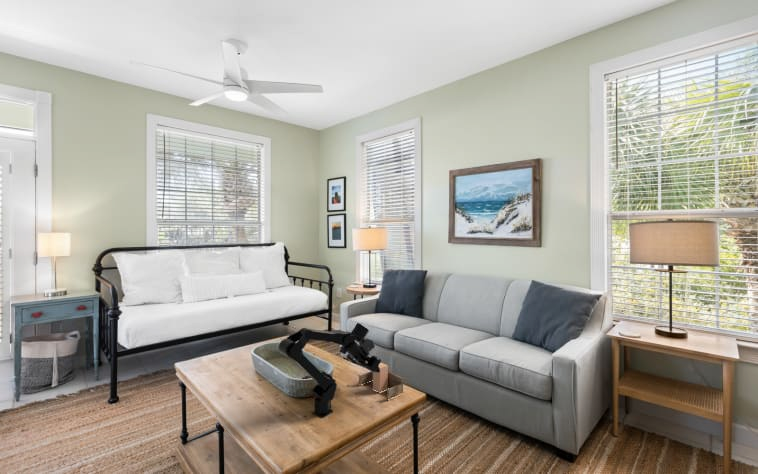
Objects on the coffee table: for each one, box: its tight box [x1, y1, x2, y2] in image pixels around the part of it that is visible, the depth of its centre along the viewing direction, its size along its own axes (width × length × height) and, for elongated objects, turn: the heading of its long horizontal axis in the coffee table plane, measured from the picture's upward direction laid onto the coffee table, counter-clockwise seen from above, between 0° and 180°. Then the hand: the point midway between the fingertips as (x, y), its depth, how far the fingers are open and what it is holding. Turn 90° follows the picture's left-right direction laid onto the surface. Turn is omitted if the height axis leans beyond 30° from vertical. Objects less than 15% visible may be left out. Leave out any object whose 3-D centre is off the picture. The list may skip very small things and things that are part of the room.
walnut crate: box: [358, 370, 404, 400], centre depth 168 cm, size 9×21×8 cm, turn 42°
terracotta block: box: [372, 362, 389, 392], centre depth 168 cm, size 5×5×12 cm
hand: (372, 368), depth 165 cm, fingers open, 9 cm apart
